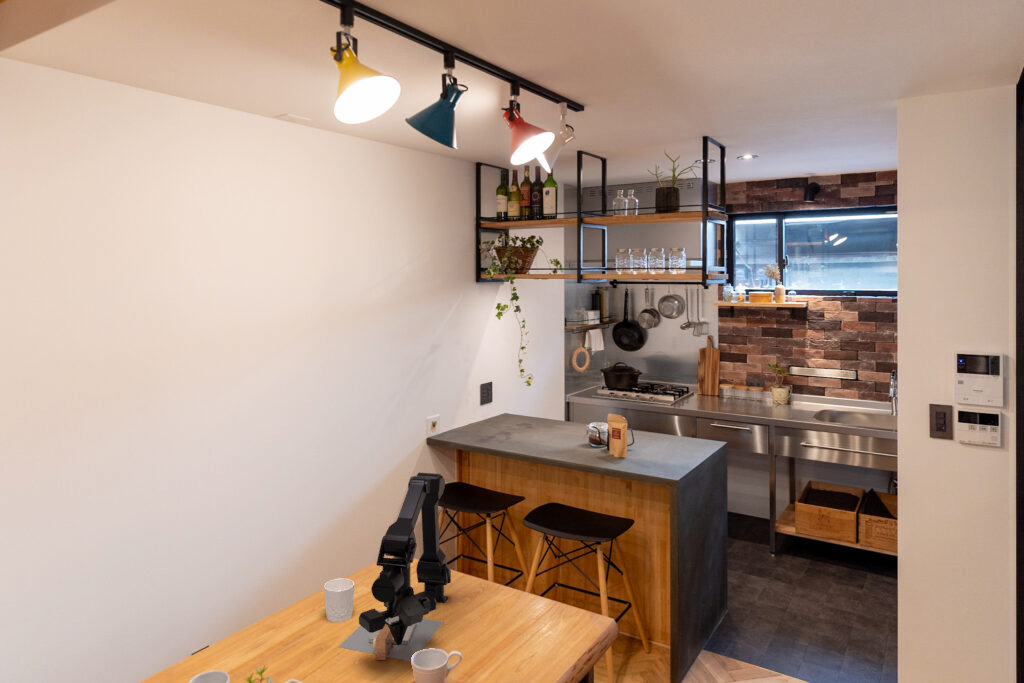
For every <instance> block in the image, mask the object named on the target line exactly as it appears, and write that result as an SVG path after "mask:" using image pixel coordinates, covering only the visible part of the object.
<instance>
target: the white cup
mask: <svg viewBox="0 0 1024 683" xmlns="http://www.w3.org/2000/svg"><path fill="white" fill-rule="evenodd" d="M323 590H324V605H325V606H324V607H325V614H326V615H325V616H326V619H327V620H328V622H333V623H343V622H346V621H348V620H350V619H351V618H352V617H353V609H354V599H355V598H354V597H355V596H354V595H355V581H354V580H352V579H350V578H345V577H344V578H343V577H341V578H334V579H333V578H332V579H331V580H327V582H325V583H324V586H323Z"/></svg>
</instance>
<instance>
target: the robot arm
mask: <svg viewBox="0 0 1024 683" xmlns="http://www.w3.org/2000/svg"><path fill="white" fill-rule="evenodd" d="M407 486H408V487H407V492H406V495H405V498H404V500H403V503H402V506H401V508H400V511H399V514H398V515H397V516H398V517H397V518H396V521H394V522H393V523H392V524H390V525H389V526H388V528H387V530H386V532H385V534H384V535H383V536H382V538H381V542H380V547H379V551H378V556H377V561H376V566H379V567H382V570H381V571H380V572H379V575H378V577H377V578H376V579H374V582H372V585H371V588H370V590H371V595H372V596H373V597H374V599H375V600H376V601H378V602H380V603H383V607H385V608H386V610H382V611H383V612H378V611H379V610H378V611H377V609H376V608H371V609H369V610H365V611H362V612H361V613H359V615H358V625H359V626H362V627H363V628H365V629H366V630H367V631H368V632H370V633H373V632H376V631H379V630H381V629H383V628H384V626H385V624H386V625H387V626H388V627H389V629H390V631H391V634H392V636H393V638H394V640H395V643H396V644H397V645H401V643H402V641H403V638H404V635H405V632H406V630H407V627H408V626H412V625H413V624H415V623H418V622H419V623H420V622H422V620H423V618H424V617H425V615H429V613H430V612H434V611H435V610H437V603H441V604H445V603H446V602H447V601H448V599H449V596H447V595H445V586H447V585H448V584H451V583H452V571H451V569H450V566H449V564H448V563H447V556H446V554H445V553H444V552H443V550H442V549H441V547H440V544H441V543H440V522H439V518H440V517H439V500H440V499H441V497H442V495H443V494H444V490H445V488H446V487H445V486H446V480H445V478H444V475H442V474H440V473H434V472H433V473H431V472H420V471H419V472H418V473H417V474H416V475H414V476H410V478H409V481H408V484H407ZM420 513H421V528H422V533H421V534H422V554H421V555H420V558H419V559H418V561H417V564H416V570H415V571H416V578H417V583H419V584H420V583H421V584H423V586H424V587H423V591H421V592H418V593H415V591H414V587H412V586H411V565H412V564H413V562H414V559H415V558H414V557H415V555H416V550H417V546H418V544H417V539H416V538H417V537H416V535H415V531H414V530H415V528H416V526H417V521H418V519H419V516H420ZM385 556H386V557H385ZM390 557H391V558H390Z"/></svg>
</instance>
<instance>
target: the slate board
mask: <svg viewBox="0 0 1024 683" xmlns="http://www.w3.org/2000/svg"><path fill="white" fill-rule="evenodd" d="M376 610H377V609H376ZM377 611H378V612H383V611H384V610H377ZM444 622H445V621H441V620H435V619H430V618H424V617H423V620H422V622H420V623H419V622H418V623H416V626H415V629H414V631H413V634H412V636H411V638H410V641H409V643H408V645H406V644H401V645H397V644H393V645H392V647H391V649H390V651H389V653H388V656H387V658H392V659H397V660H402V661H408V662H411V657H412V655H413V654H414V653H415V652H417V651H419V650H421V649H424V648H425V647H426V645H427V644H428V642H430V640H431V639H432V638H433V636H434V635H435V634H436V632H437V631H439V629H440V628H441V627H442V625H443V624H444ZM370 635H371V633H370V632H368V631H367V630H366V629H365V628H363V627H362V626H361V625H359V626H358V627H357V628H356V629H355V630H354V631H353V632H352V633H351V634H350V635H349V636H348V637H347V638H346V639H345V640H344V641H342V643H340V644H339V645H338V648H341V649H345V650H350V651H357V652H361V653H364V654H365V653H366V654H372V655H375V640H376V639H374V640H373V643H371V642H369V637H370ZM421 651H422V650H421Z"/></svg>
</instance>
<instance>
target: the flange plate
mask: <svg viewBox="0 0 1024 683" xmlns="http://www.w3.org/2000/svg"><path fill="white" fill-rule="evenodd" d="M415 626H416V623H415V624H413V625H412V626H408V627H407V630H406V632H405V635H404V638H403V641H402V643H401V644H406V645H408V643H409V641H410V638H411V636H412V634H413V631H414V629H415ZM374 639H376V640H375V654H374V655H375V661H386V660H387V658H388V657H387V656H388V653H389V651H390V649H391V647H392V645H393V644H396V643H395V640H394V638H393V636H392V634H391V631H390V629H389V627H388V626H387V625H386V624H385V626H384V628H383V629H381V630H379V631H376V632H373V633H371V635H370V637H369V642H371V643H373V640H374Z"/></svg>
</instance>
